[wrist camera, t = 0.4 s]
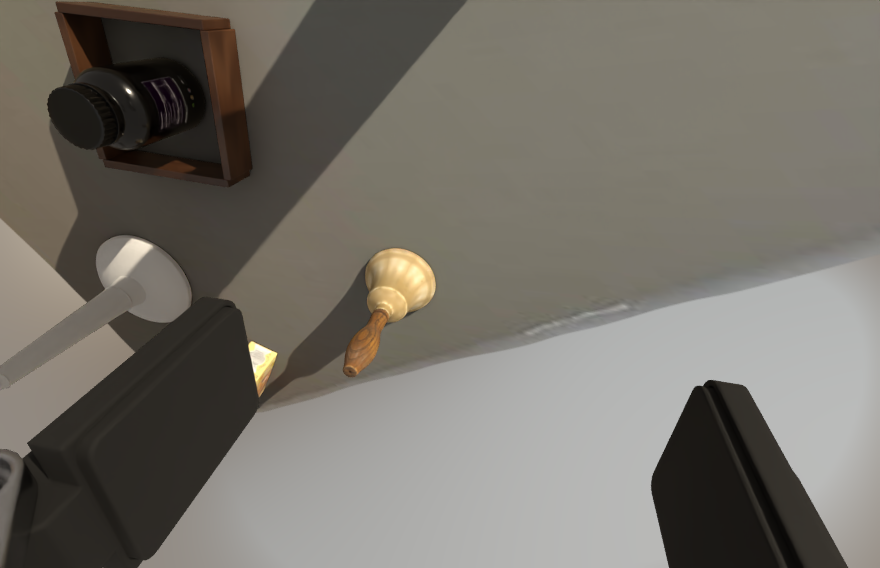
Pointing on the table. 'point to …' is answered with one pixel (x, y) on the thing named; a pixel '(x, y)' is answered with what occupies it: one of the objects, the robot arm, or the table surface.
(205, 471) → the robot arm
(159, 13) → the walnut caddy
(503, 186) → the table surface
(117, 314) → the candlestick
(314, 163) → the table surface
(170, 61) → the supplement bottle
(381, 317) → the hand bell
